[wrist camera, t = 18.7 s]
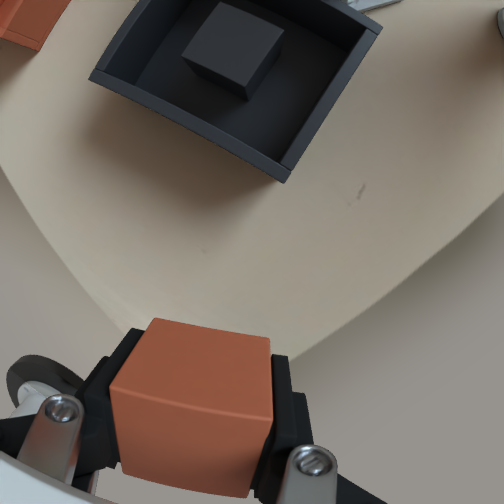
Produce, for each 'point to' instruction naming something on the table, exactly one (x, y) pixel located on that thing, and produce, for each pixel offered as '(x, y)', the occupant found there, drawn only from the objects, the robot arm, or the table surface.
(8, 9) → the terracotta bin
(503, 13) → the travel mug
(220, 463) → the terracotta block
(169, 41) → the charcoal bin
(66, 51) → the table surface
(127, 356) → the robot arm
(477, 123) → the table surface
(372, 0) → the handheld gaming console
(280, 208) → the table surface
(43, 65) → the table surface
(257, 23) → the charcoal block
